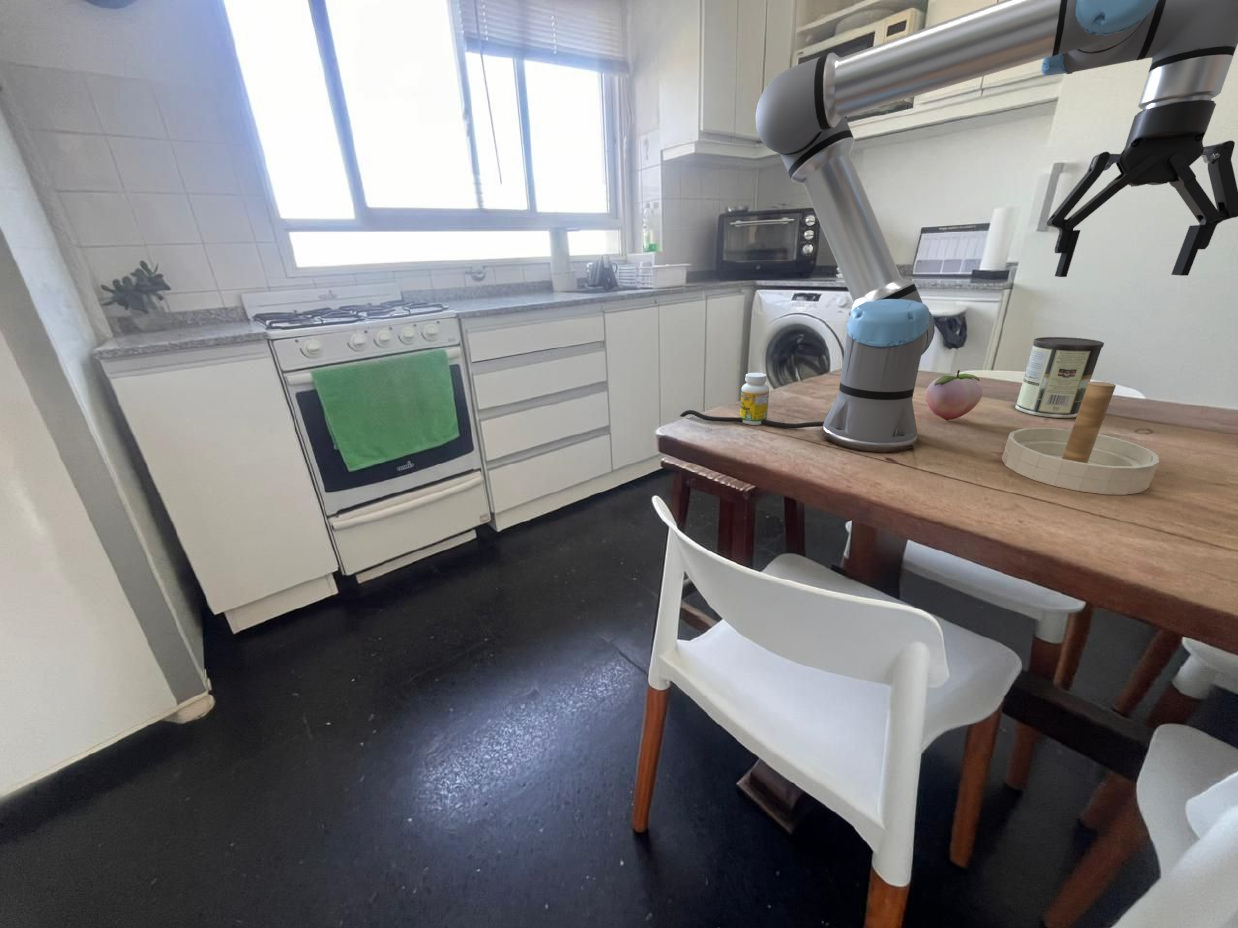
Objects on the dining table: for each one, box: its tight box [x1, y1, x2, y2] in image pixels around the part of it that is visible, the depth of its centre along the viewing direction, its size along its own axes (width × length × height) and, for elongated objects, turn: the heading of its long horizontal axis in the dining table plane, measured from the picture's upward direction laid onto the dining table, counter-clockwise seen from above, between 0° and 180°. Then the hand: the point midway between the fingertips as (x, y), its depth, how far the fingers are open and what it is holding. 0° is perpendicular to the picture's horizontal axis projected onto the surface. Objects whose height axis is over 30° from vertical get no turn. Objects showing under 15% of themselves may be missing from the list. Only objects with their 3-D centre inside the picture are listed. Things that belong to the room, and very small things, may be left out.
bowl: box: [1001, 427, 1160, 496], centre depth 72 cm, size 16×16×4 cm
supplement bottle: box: [739, 372, 770, 426], centre depth 98 cm, size 5×5×10 cm
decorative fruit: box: [925, 369, 983, 421], centre depth 95 cm, size 9×8×10 cm
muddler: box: [1061, 380, 1117, 464], centre depth 70 cm, size 5×5×13 cm
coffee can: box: [1014, 336, 1105, 419], centre depth 98 cm, size 10×10×14 cm
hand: (1117, 276), depth 74 cm, fingers open, 13 cm apart
